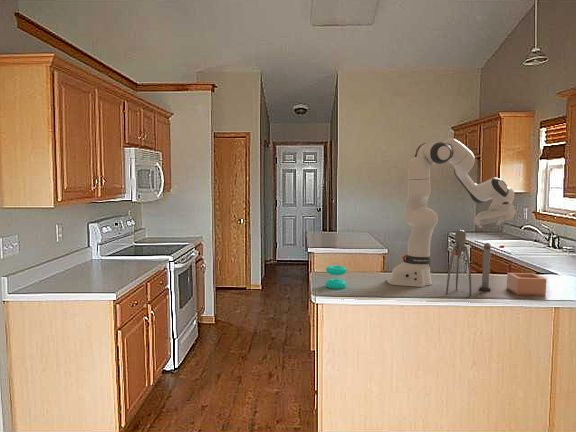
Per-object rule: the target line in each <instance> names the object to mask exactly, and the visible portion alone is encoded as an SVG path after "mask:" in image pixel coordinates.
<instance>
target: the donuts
mask: <svg viewBox="0 0 576 432" xmlns="http://www.w3.org/2000/svg"><path fill="white" fill-rule="evenodd" d="M347 270H348V269H347V268H346V267H345V266H343V265H329V266H327V267H326V268H325V271H326V273H327V274H328V275H331V276H343V275H345V274H346V272H347ZM325 286H326V287H327V288H328V289H333V290H342V289H344V288H346V287H347V282H346V281H345V280H343V279H340V278H331V279H328V280H326V282H325Z"/></svg>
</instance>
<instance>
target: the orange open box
mask: <svg viewBox="0 0 576 432" xmlns="http://www.w3.org/2000/svg"><path fill="white" fill-rule="evenodd" d="M506 290H508V291H509V292H511V293H512V294H514V295H516V296H525V297H526V296H527V297H529V296H530V297H531V296H532V297H546V293H547V291H546V290H547V278H545V277H543V276H541V275H539V274H536V273H535V272H534V273H533V272H532V273H530V272H507V276H506Z"/></svg>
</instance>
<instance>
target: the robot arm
mask: <svg viewBox="0 0 576 432" xmlns="http://www.w3.org/2000/svg"><path fill="white" fill-rule="evenodd" d="M447 162H449V164H450V165H452V167H453V168H454V169H453V173H454V175H455V177H456V179H457V180H458V182H459V183H460V184H461V186H463V188H464V190H465V191H467V193H468V195H469V196H470V199H471V200H472V201H473V202H475V203H477V204H479V205H481V204H484V203H486V202H488V201H489V200H492V202H491V203H490V205H489V207H488V210H485V211H481V212H478V214H476V216H475V217H474V218H473V222H474V224H475V226H477V227H478V228H479V229H482V228H483V227H484V225H486V224H487V225H488V224H493V223H495V225H496V226H500V225H501V224H502V223H503V222H506V221H510V220H512V219H514V217H515V215H516V213H517V210H516V208H515V205H514V204H513V202H514V200H515V191H514V190H513V188H511V187H509V186H508V185H507V184H506V182H505V181H504V180H502V179H501V178H498V177H492V178H490V179H488V180H485V181H484V182H482V183H476V182H474V180H473V179H472V177H470V175H469V174H468V173H469V172H470V171H471V170H472V169H473V168H474V165H475V162H476V159H475V155H474V153H473V152H472V151H471V150H470V149H469V148H468V147H467V146H466V145H465V144H463V143H462V142H461V141H459V140H457V139H456V138H453V137H450V138H447V139H445V140H444V141H443V142H442V141H440V142H438V141H436V142H435V141H431V142H430V141H429V142H423V143H422V144H420V145H418V147H417V148H416V151H415V154H414V157H412V158H410V160H409V161H408V166H407V200H406V204H405V205H406V206H405V209H404V211H403V214H402V218H403V220H404V222H405V223H406V224H407V225H409V226H410V227H412V229H411V233H410V235H409V237H408V240H407V254H406V255H405V254H402V255H400V256H401V259H403V260H402V262H401V263H400V264H398V265H397V266H395V267H394V268H393V269H392V270H391V276H389V277H387V278H386V282H387V284H389V285H392V286H403V287H420V288H423V287H426V286H431V285H432V284H433V282H432V277H431V264H432V263H431V262H432V259H431V257H432V256H431V242H432V241H431V240H432V237H433V232H434V229H435V227H436V226H437V225H438V222H439V216H438V213H436V211H434V210H433V209H431V208H430V207H427V206H428V201H429V198H430V196H431V193H432V191H431V187H432V186H431V168H432V166H433V165H442V164H445V163H447Z"/></svg>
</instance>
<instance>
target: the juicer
mask: <svg viewBox="0 0 576 432" xmlns="http://www.w3.org/2000/svg"><path fill="white" fill-rule="evenodd" d="M466 240H467V234H466V231H465V230H462V229H458V230H456V231H455V233H454V242H455V243H454V244H455V245H454V246H453V249H452V252H451V256H450V259H449V260H450V261H449V267H448V270H447V271H448V273H447V277H446V278H447V280H446V290H445V292H446V293H445V295H448V294H449V284H450V277H451V271H452V266H453V262H454V256H455V253H456V252H457V258H456V273H455V291H456V292H457V291H458V285H459V284H458V283H459V270H460V269H459V267H460V257H461V255H462V253H463V252H464V253H465V257H466V263H467V272H468V281H469V282H468V285H469V296H470V297H471V296H472V273H471V271H472V270H471V263H470V257H469V251H468V247H467V246H465V245H466Z"/></svg>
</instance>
